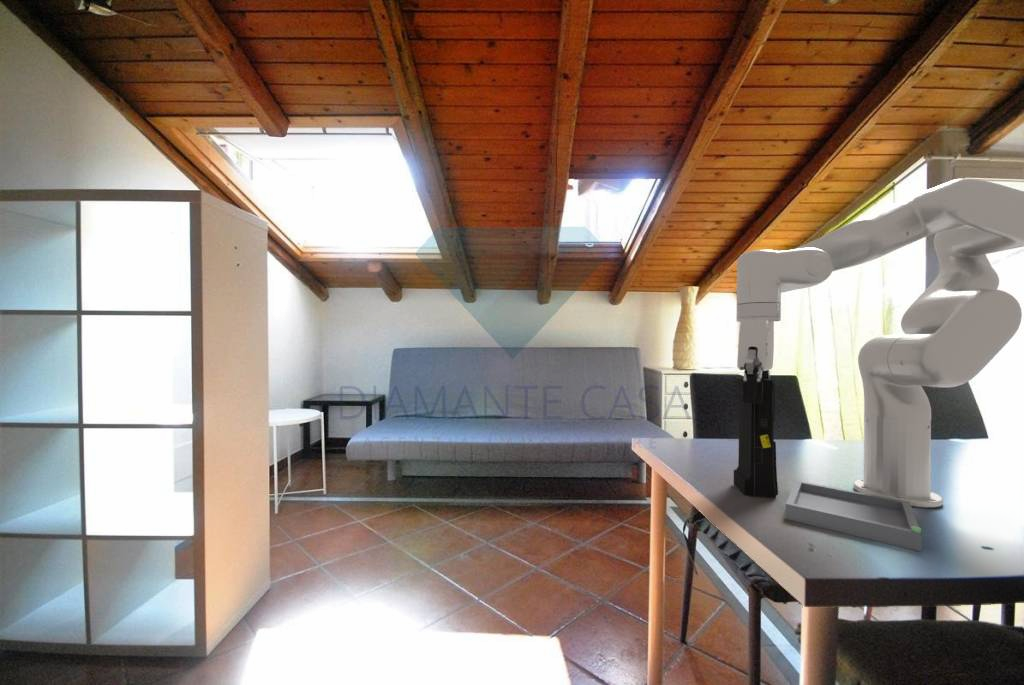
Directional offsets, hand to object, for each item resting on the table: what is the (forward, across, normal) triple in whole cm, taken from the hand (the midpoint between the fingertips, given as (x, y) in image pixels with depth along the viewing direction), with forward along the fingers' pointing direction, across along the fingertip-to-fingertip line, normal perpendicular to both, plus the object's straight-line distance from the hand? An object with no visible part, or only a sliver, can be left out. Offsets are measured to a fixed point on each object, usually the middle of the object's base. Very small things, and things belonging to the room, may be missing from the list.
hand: (757, 400), depth 80 cm
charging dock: (+18, +3, +14) cm, 23 cm away
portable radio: (+18, 0, 0) cm, 18 cm away
